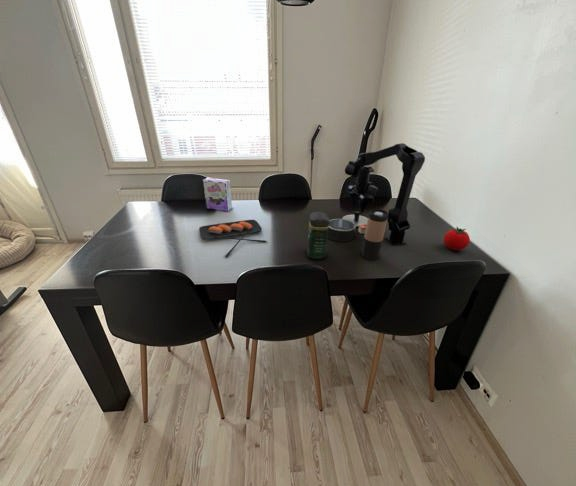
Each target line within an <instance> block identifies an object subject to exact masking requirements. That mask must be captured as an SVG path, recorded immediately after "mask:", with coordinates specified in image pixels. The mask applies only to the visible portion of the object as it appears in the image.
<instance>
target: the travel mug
mask: <svg viewBox="0 0 576 486" xmlns="http://www.w3.org/2000/svg"><path fill="white" fill-rule="evenodd" d="M388 213H389V211H387V210H384V209H380V208H372V209H370V210H369V212H368V216H367V218H368V221H367V226H366V231H365V234H364V236H363V242H362V249H361V257H363V258H364V259H365V260H377V259H378V258H379V255H380V251H381V248H382V244H383V241H384V237H385V232H386V227H387V223H388Z"/></svg>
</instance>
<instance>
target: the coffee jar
mask: <svg viewBox="0 0 576 486" xmlns="http://www.w3.org/2000/svg"><path fill="white" fill-rule="evenodd" d="M329 220H330V218H329V215H328V214H327V213H325V212H324V211H312V212H311V214H310V215H309V221H308V233H307V235H308V236H307V245H306V254H307V256H308V258H310V259H314V260H321V259H324V258H325V257H326V254H327V246H328V245H327V244H328V229H329Z"/></svg>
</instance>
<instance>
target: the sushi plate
mask: <svg viewBox="0 0 576 486" xmlns="http://www.w3.org/2000/svg"><path fill="white" fill-rule="evenodd" d="M262 230H263V229H262V227H261V225H260V223H259V222H258V221H257V220H256V219H243V220H237V221H230V222H222V223H215V224H207V225H202V226H199V228H198V231H199V236H200V237H201V239H202V240H215V239H226V240H227V239H228V240H238V241H237V242H236V243H235V244H234V245H233V246H232V248H231V249H230V250H229V251H228V252H227V253H226V254H225V258H228V257H229V255H230V254H231V253H232V252H233V251H234V249H235V248H236V247H237V246H238V244H239V243H240V242H241V241H249V242H260V243H267V240H263V239H249V238H244V237H245V236H246V235H249V234H257V233H260V232H262ZM237 236H242V237H240V238H235V237H237Z"/></svg>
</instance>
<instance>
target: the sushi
mask: <svg viewBox="0 0 576 486" xmlns="http://www.w3.org/2000/svg"><path fill="white" fill-rule="evenodd" d="M366 226H367V224H366V225H359V227H357V228H358V229H357V232H358V233H359V234H360V235H362V234H364V235H365V231H366Z"/></svg>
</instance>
